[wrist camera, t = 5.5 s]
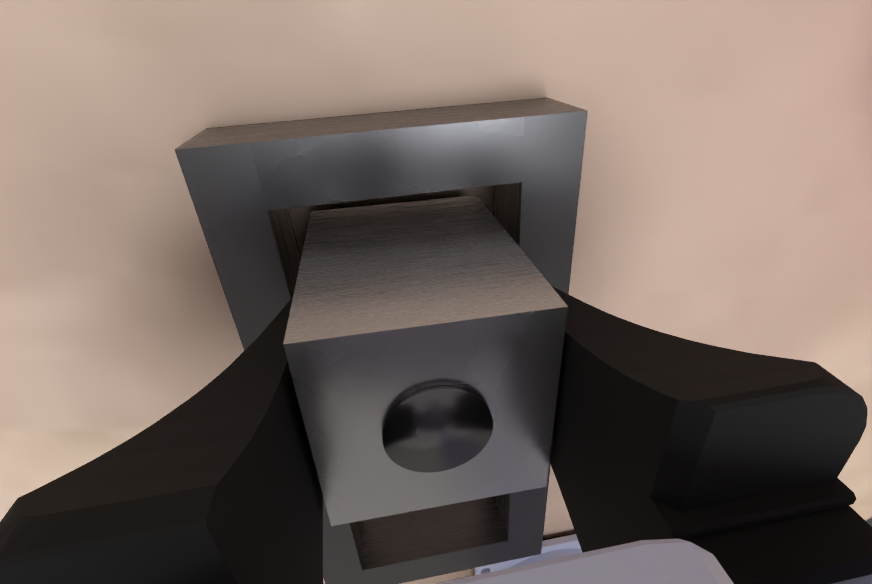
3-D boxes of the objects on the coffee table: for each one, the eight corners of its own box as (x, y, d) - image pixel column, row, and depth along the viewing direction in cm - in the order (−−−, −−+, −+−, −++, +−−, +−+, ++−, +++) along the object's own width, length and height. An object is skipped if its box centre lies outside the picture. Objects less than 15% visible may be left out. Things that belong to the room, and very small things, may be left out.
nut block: (476, 329, 15) (548, 492, 9) (337, 348, 14) (330, 533, 9) (476, 195, 12) (571, 311, 7) (311, 211, 12) (281, 350, 7)
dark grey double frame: (522, 504, 21) (541, 554, 19) (332, 541, 20) (330, 597, 18) (548, 97, 12) (587, 111, 10) (206, 128, 11) (174, 149, 9)
